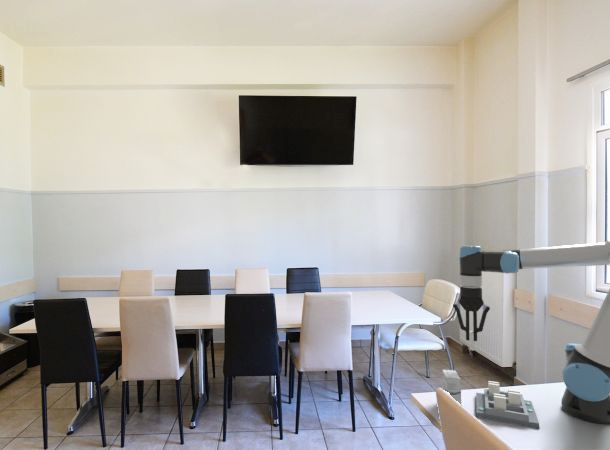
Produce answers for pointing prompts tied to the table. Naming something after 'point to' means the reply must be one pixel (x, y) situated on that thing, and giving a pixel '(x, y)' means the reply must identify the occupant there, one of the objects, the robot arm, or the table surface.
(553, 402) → the table surface
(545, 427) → the table surface
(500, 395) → the tab
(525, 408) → the switch board
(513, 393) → the tab
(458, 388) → the ink box
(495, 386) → the tab
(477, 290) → the robot arm
